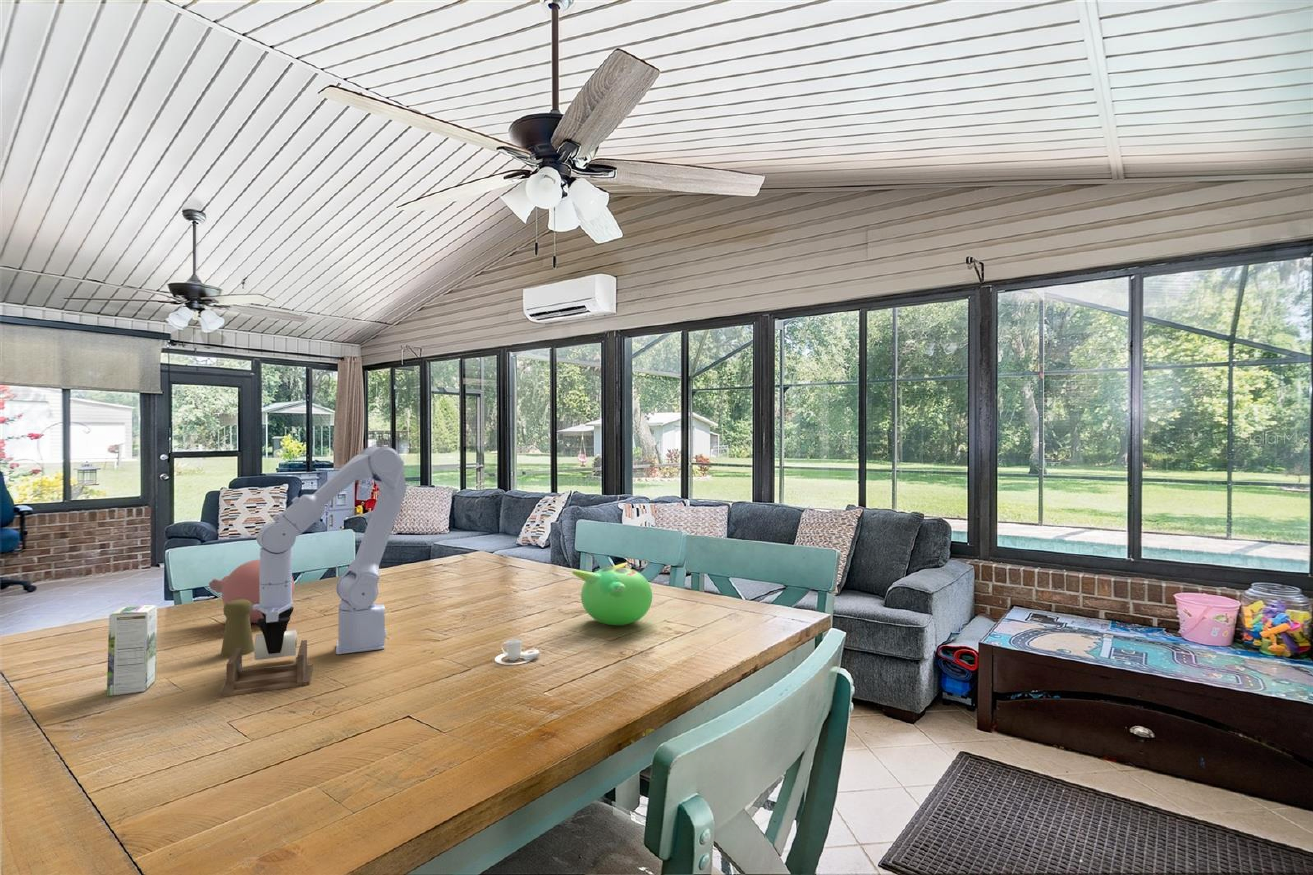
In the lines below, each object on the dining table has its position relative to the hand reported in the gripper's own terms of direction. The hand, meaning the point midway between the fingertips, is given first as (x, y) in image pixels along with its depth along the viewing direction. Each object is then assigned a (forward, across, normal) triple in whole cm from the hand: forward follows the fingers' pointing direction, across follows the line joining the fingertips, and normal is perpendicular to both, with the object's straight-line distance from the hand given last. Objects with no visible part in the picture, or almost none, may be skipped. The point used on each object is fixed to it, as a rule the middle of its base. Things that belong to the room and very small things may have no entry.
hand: (276, 648), depth 132 cm
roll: (+2, 0, 0) cm, 2 cm away
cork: (+3, -11, -8) cm, 14 cm away
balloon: (+3, -37, -9) cm, 38 cm away
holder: (+3, +11, 0) cm, 11 cm away
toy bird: (+4, +2, +73) cm, 73 cm away
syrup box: (+3, +5, -22) cm, 23 cm away
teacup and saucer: (+4, +20, +45) cm, 49 cm away
